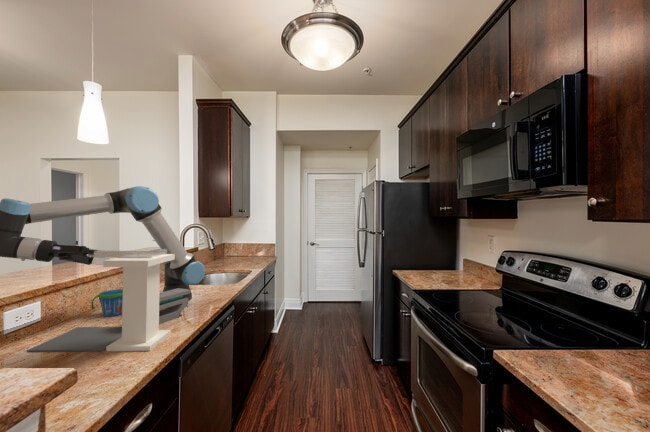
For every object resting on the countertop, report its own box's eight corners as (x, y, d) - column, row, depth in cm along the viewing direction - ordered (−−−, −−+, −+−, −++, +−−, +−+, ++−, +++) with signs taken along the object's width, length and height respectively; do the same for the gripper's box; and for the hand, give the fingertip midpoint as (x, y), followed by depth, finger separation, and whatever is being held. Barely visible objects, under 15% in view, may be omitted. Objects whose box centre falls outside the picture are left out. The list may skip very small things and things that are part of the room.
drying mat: (26, 352, 93) (26, 350, 93) (77, 328, 113) (77, 327, 113) (103, 351, 94) (103, 349, 94) (140, 328, 114) (140, 326, 114)
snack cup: (87, 320, 122) (88, 296, 122) (95, 313, 131) (96, 290, 131) (131, 315, 128) (131, 293, 128) (135, 309, 138) (136, 287, 138)
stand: (101, 354, 92) (103, 260, 92) (136, 332, 110) (137, 253, 110) (146, 353, 92) (147, 260, 93) (173, 331, 110) (174, 254, 111)
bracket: (93, 257, 99) (93, 251, 99) (114, 253, 109) (114, 248, 109) (151, 257, 100) (151, 252, 100) (167, 254, 110) (167, 249, 110)
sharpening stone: (135, 332, 109) (136, 304, 109) (122, 329, 112) (123, 301, 112) (190, 313, 132) (190, 289, 132) (178, 311, 135) (178, 288, 135)
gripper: (43, 267, 109) (110, 274, 119) (24, 251, 89) (106, 262, 100) (51, 248, 112) (116, 257, 122) (34, 229, 92) (113, 241, 103)
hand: (111, 259), depth 111 cm, fingers open, 13 cm apart
